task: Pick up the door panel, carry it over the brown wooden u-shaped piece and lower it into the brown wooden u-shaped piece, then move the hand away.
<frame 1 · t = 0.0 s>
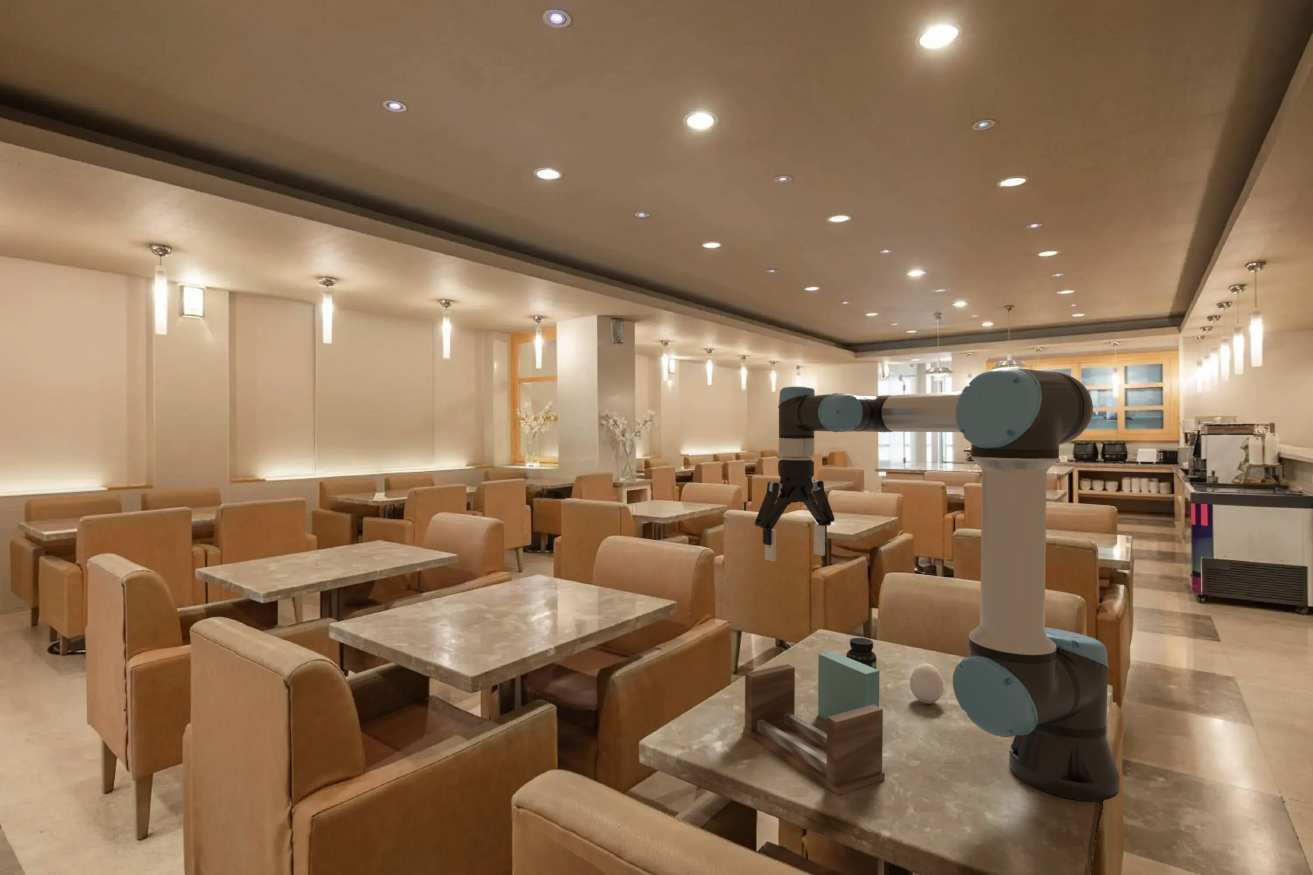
hand: (795, 557, 143), 28 cm above the table, fingers open, 13 cm apart
brown wooden u-shaped piece: (808, 753, 114), on the table
door panel: (847, 725, 125), on the table
egg: (926, 703, 136), on the table
pill bottle: (861, 693, 140), on the table
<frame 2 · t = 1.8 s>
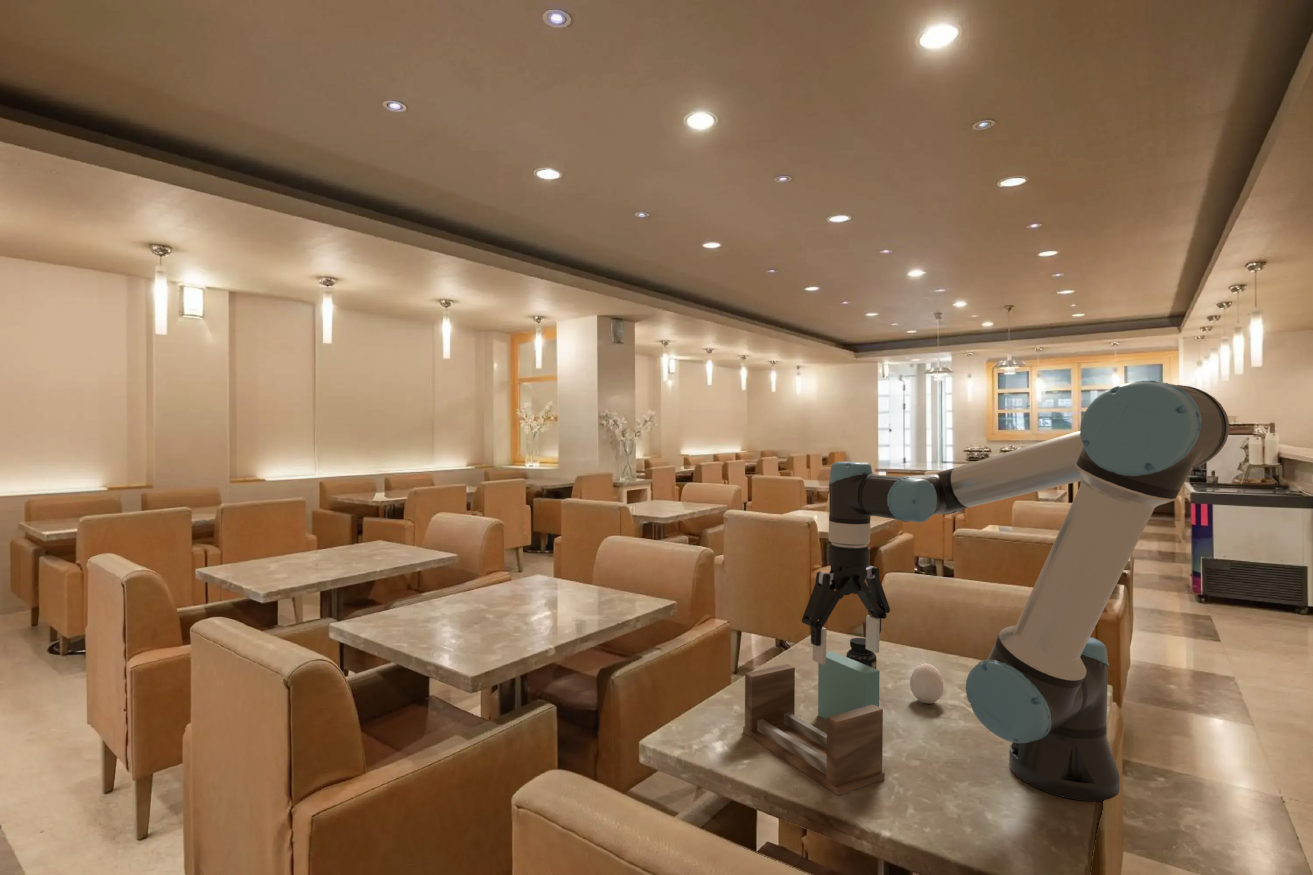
hand: (846, 656, 125), 13 cm above the table, fingers open, 13 cm apart
nothing on the table moved.
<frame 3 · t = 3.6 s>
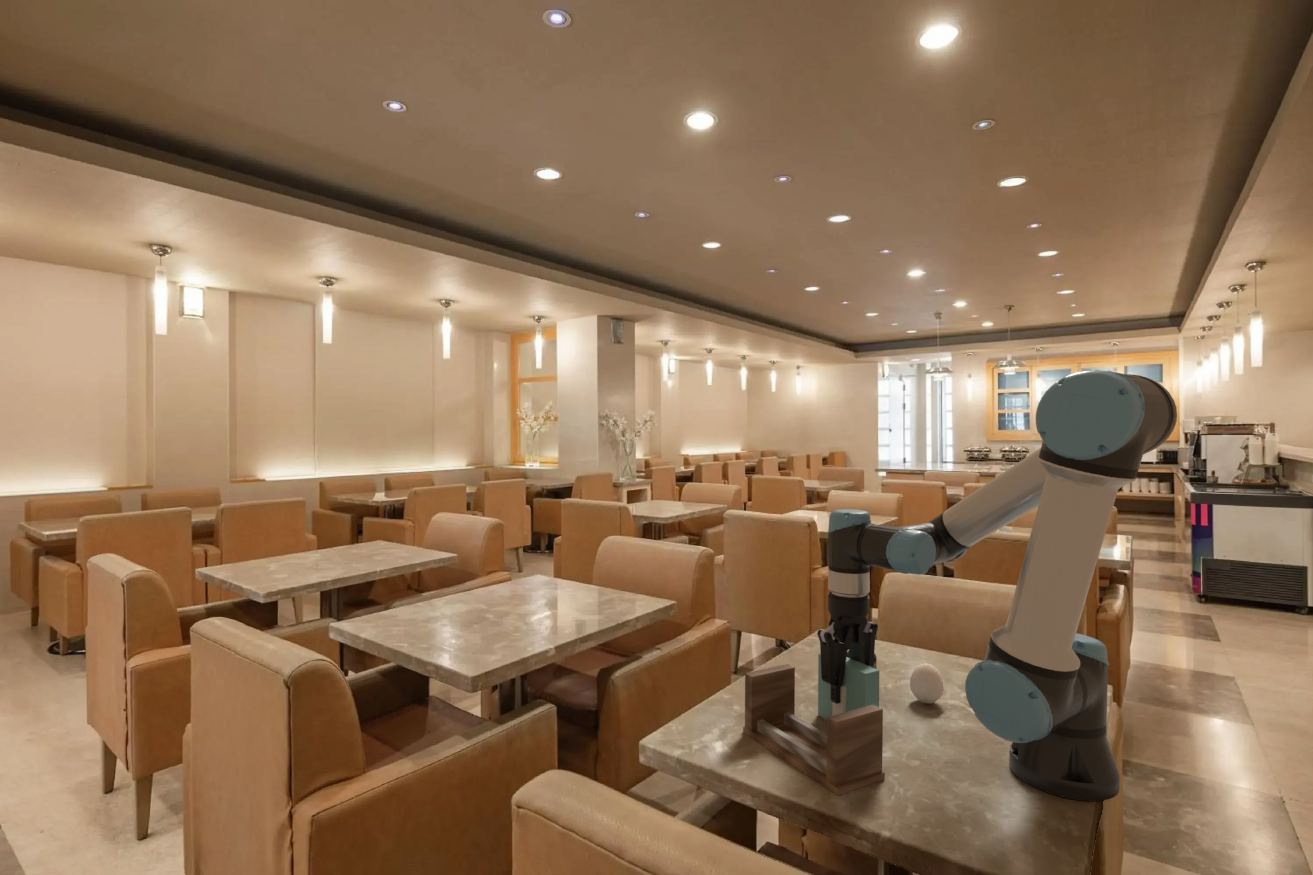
hand: (847, 716, 125), 2 cm above the table, fingers closed on door panel, 3 cm apart
door panel: (847, 725, 125), on the table, touching gripper
everything else where it was.
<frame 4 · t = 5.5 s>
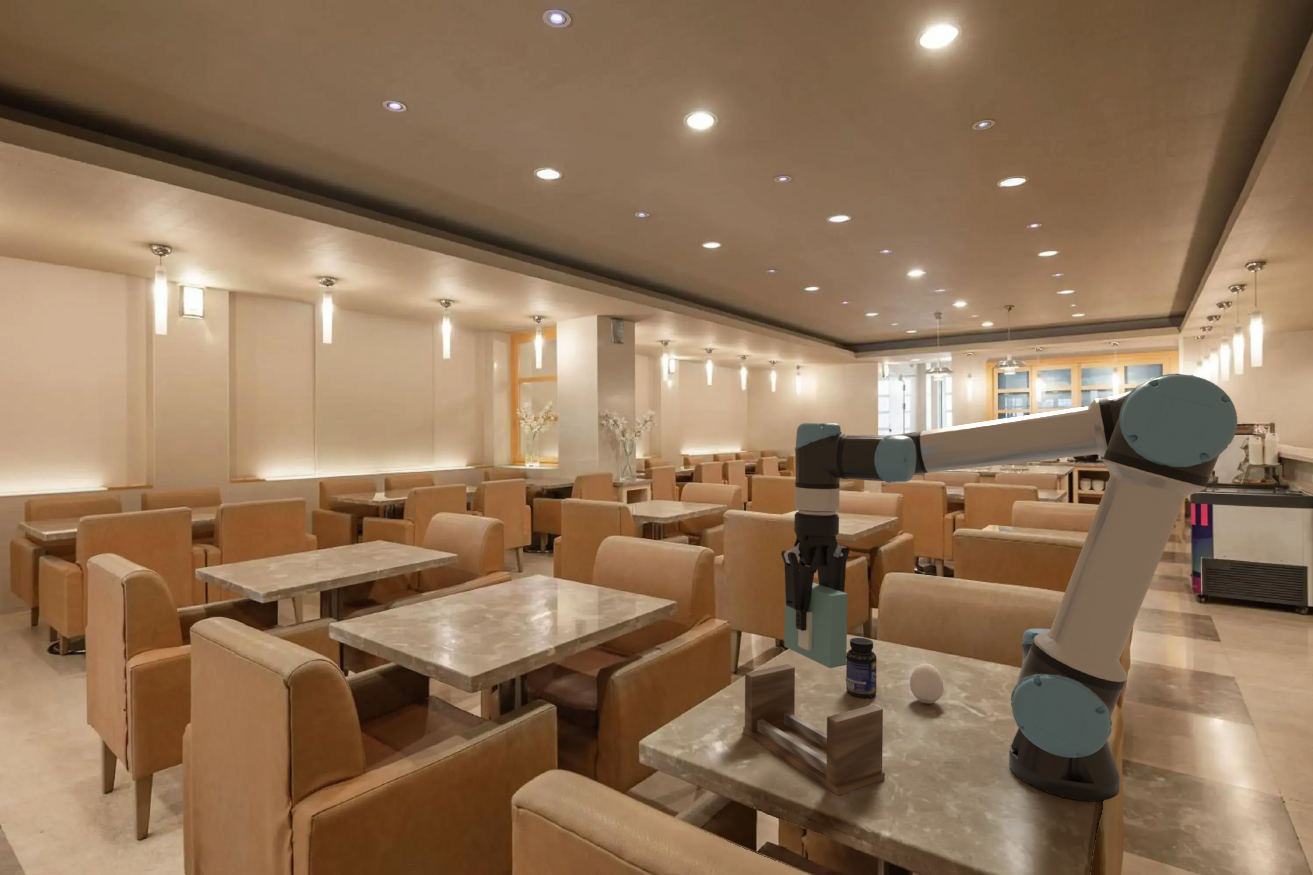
hand: (814, 645, 116), 18 cm above the table, fingers closed on door panel, 3 cm apart
door panel: (814, 655, 116), point 16 cm above the table, touching gripper
everything else where it was.
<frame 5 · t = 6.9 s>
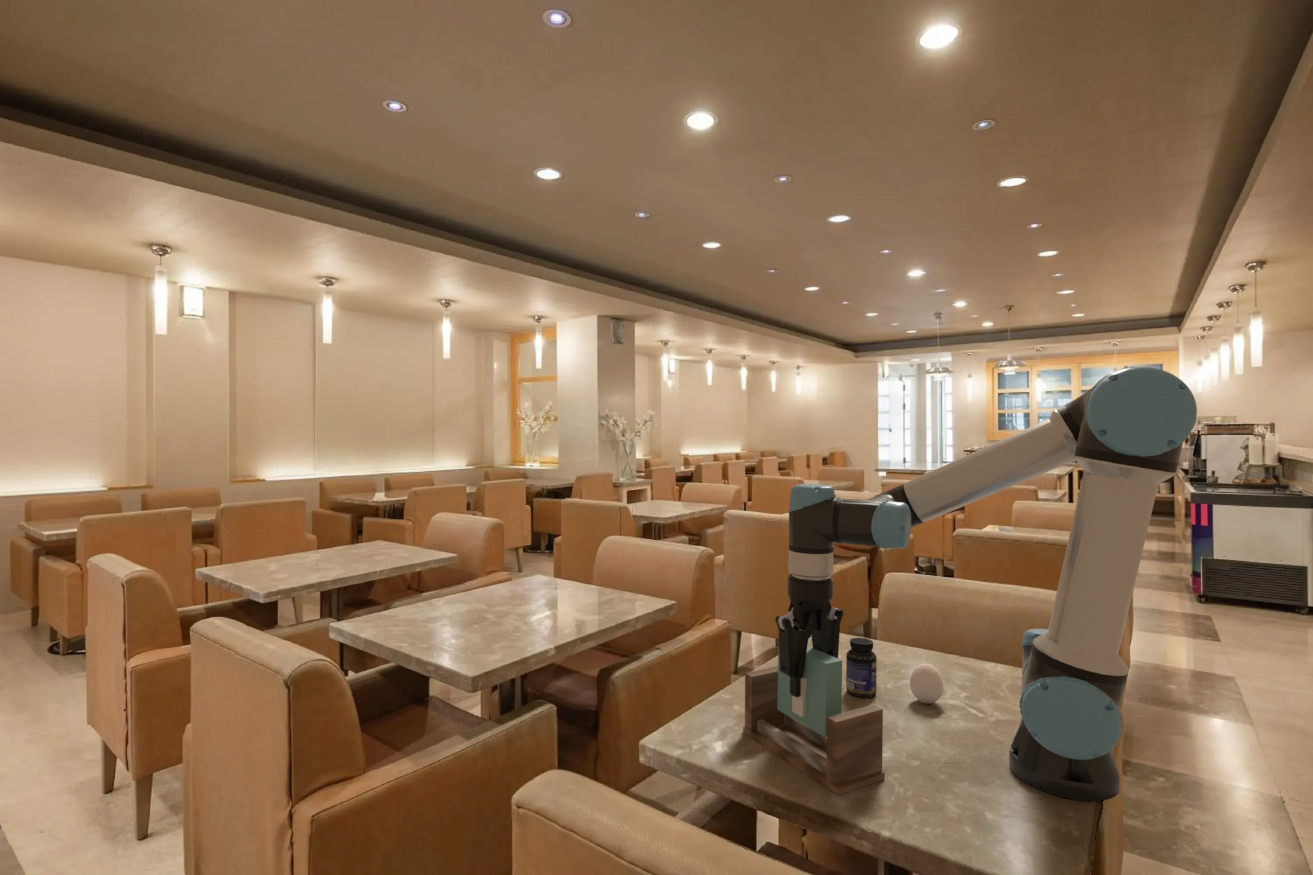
hand: (808, 711, 114), 7 cm above the table, fingers closed on door panel, 3 cm apart
door panel: (808, 720, 114), point 6 cm above the table, touching gripper
everything else where it was.
when the fingers open (4 cm above the table, at t = 7.9 s): door panel stays where it is, resting on brown wooden u-shaped piece.
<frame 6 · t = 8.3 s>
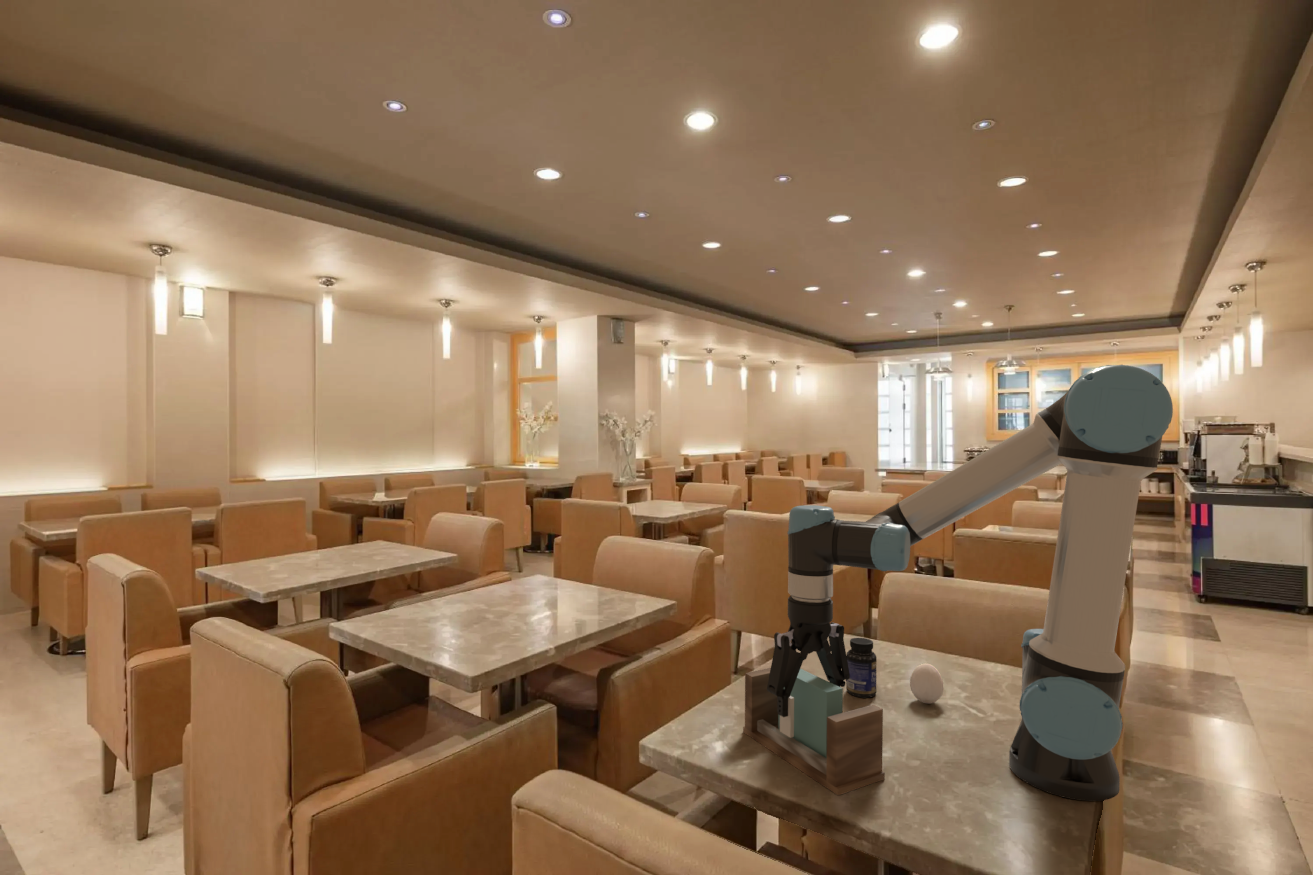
hand: (809, 727, 114), 5 cm above the table, fingers open, 9 cm apart
door panel: (808, 747, 114), point 1 cm above the table, touching brown wooden u-shaped piece
everything else where it was.
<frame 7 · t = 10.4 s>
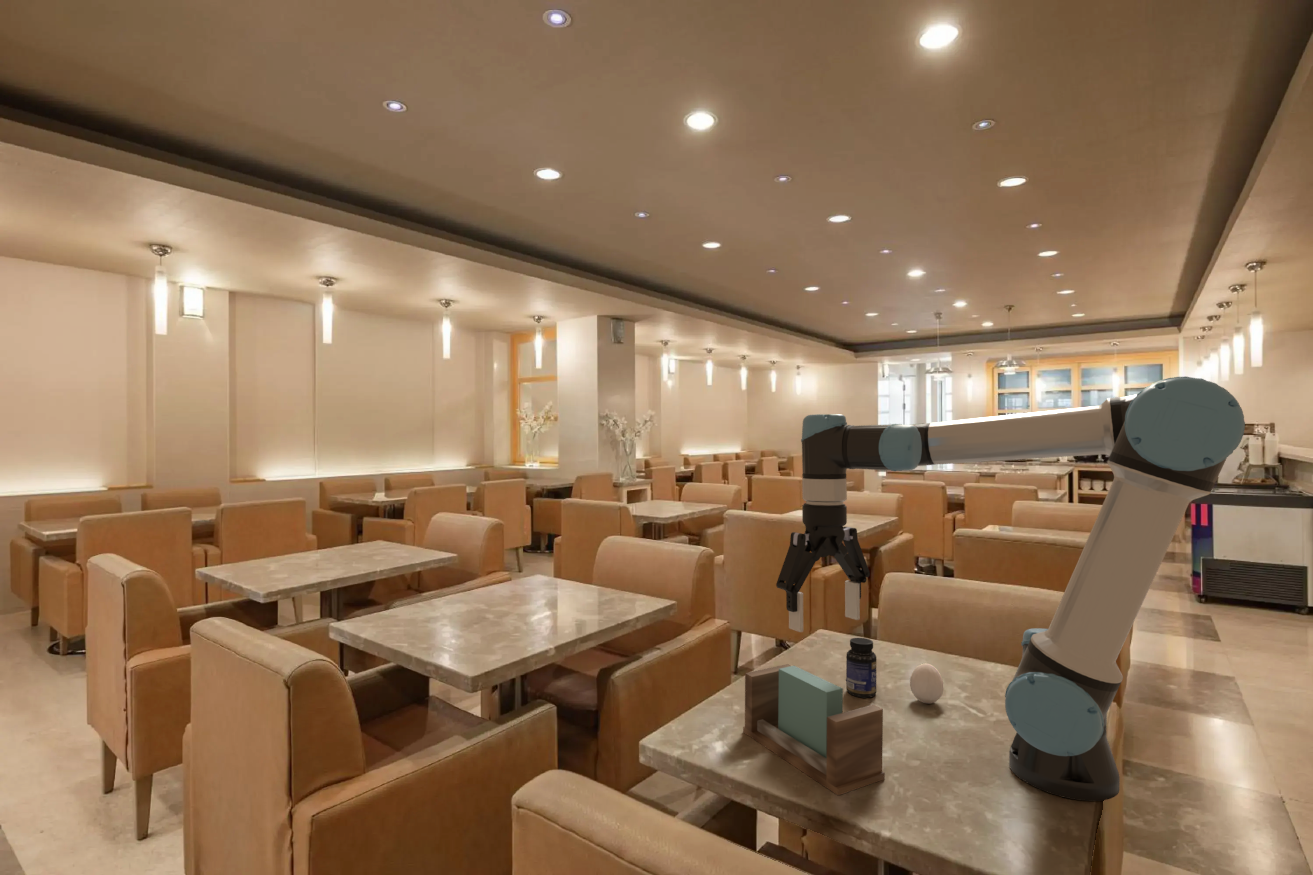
hand: (825, 624, 116), 22 cm above the table, fingers open, 13 cm apart
nothing on the table moved.
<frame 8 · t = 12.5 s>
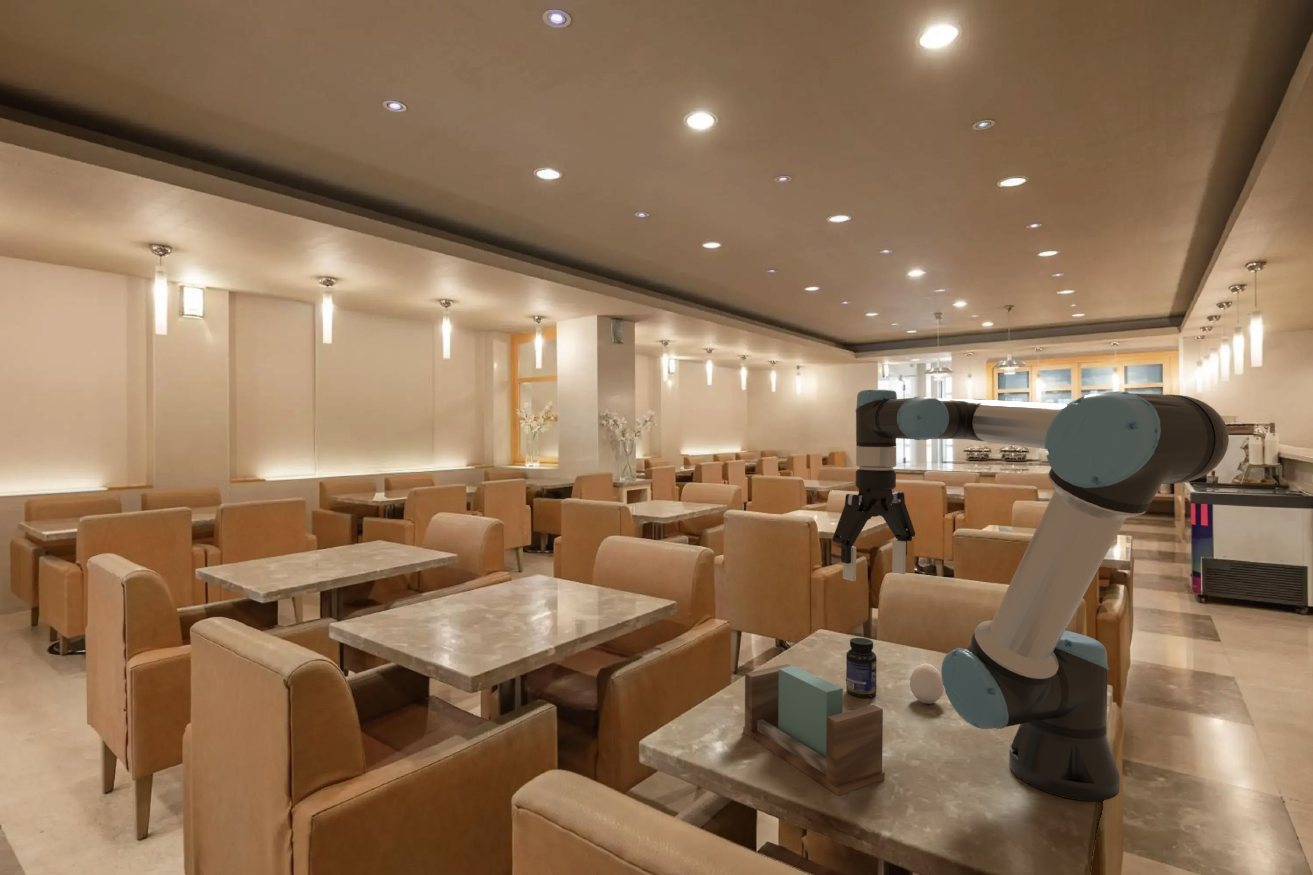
hand: (874, 576, 131), 27 cm above the table, fingers open, 13 cm apart
nothing on the table moved.
at the end: door panel 0.0 cm off-centre on the brown wooden u-shaped piece, point 1.0 cm above the brown wooden u-shaped piece's base; door panel tilted 0°; the gripper is holding nothing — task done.
